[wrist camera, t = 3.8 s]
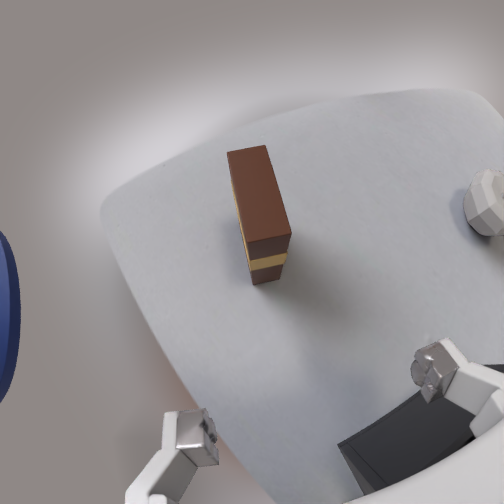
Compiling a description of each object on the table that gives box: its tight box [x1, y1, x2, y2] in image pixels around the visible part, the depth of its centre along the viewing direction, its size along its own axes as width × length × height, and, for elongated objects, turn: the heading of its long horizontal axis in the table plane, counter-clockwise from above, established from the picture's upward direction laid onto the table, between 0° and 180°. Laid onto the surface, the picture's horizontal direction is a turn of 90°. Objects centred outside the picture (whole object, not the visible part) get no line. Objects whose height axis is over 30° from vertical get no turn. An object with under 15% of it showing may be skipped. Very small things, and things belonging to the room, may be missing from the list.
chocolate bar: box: [227, 145, 292, 285], centre depth 21 cm, size 2×6×11 cm, turn 12°
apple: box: [463, 169, 504, 236], centre depth 24 cm, size 8×8×7 cm
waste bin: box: [337, 364, 504, 496], centre depth 15 cm, size 14×14×11 cm
